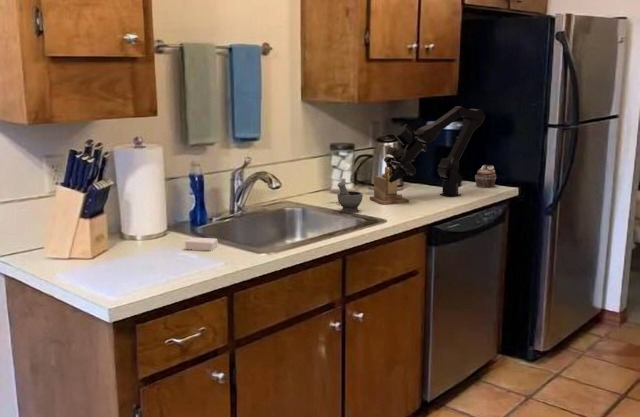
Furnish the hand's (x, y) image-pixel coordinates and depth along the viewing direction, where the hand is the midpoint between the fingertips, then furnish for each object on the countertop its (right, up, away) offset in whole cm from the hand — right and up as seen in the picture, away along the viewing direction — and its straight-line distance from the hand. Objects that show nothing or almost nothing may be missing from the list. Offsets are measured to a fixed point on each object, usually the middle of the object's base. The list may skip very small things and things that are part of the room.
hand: (386, 180), depth 275 cm
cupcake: (+49, -1, +33) cm, 59 cm away
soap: (-64, -24, -66) cm, 95 cm away
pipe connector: (-18, -9, 0) cm, 20 cm away
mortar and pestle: (-16, -13, -16) cm, 26 cm away
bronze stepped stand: (+1, -8, +2) cm, 9 cm away
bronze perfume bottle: (+1, -7, +2) cm, 7 cm away
